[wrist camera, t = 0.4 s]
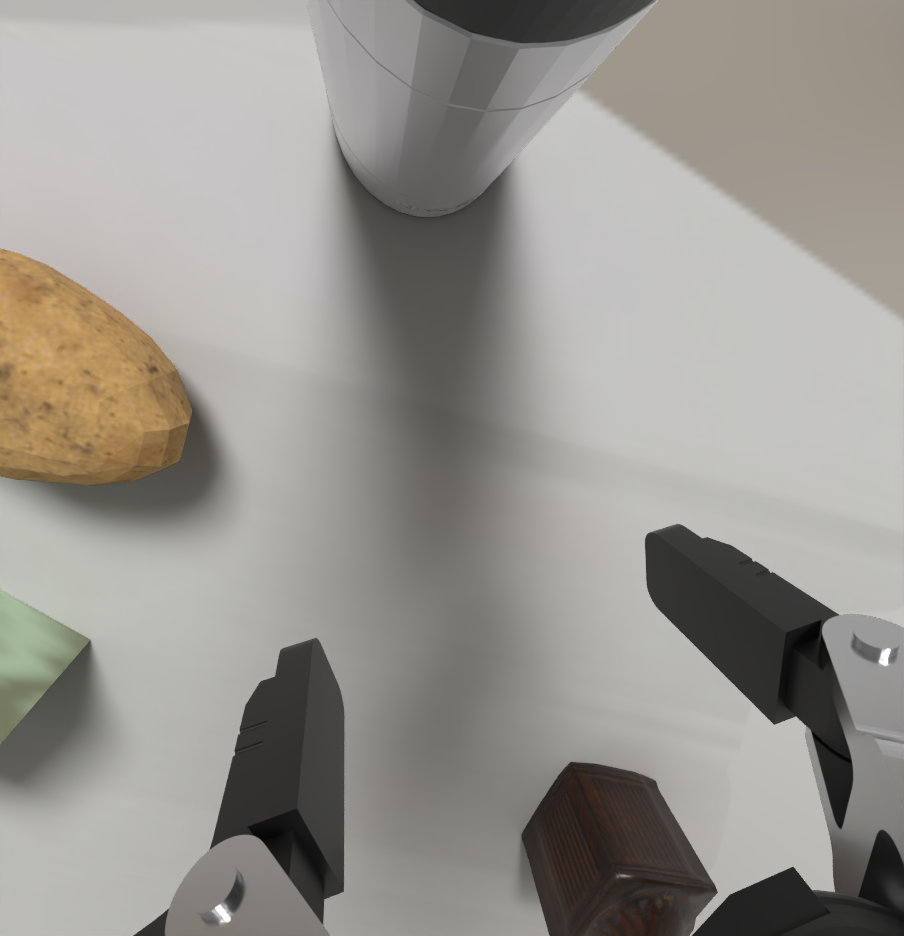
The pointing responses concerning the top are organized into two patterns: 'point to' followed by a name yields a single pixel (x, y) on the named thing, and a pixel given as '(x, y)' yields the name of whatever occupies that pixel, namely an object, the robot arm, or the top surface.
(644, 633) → the top surface
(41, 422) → the potato
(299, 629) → the top surface
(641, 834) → the wooden coffee grinder
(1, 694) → the sage-green block
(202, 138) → the top surface
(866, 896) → the robot arm
